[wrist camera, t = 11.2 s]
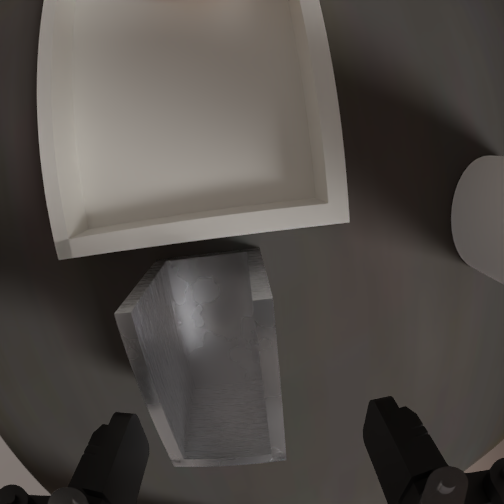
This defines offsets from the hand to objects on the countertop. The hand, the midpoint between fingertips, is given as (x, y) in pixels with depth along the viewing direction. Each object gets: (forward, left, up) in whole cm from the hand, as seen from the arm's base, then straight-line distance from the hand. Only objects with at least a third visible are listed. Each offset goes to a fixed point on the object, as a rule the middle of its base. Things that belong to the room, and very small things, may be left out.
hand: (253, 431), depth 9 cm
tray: (+10, -8, -7) cm, 15 cm away
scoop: (+1, +1, -7) cm, 7 cm away
